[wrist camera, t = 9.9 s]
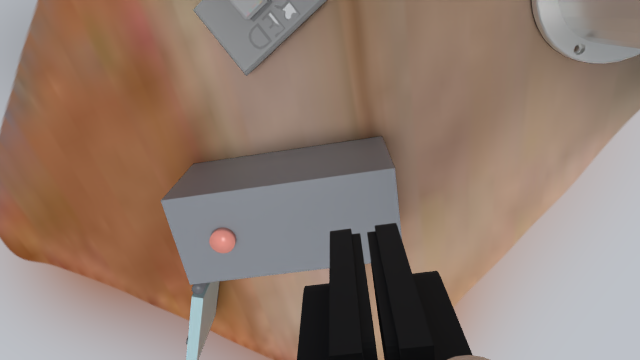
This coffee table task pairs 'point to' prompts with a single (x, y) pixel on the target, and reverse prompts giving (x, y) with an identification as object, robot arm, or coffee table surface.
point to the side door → (201, 319)
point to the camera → (253, 25)
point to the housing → (279, 209)
